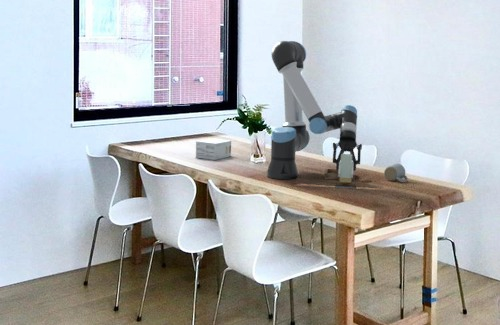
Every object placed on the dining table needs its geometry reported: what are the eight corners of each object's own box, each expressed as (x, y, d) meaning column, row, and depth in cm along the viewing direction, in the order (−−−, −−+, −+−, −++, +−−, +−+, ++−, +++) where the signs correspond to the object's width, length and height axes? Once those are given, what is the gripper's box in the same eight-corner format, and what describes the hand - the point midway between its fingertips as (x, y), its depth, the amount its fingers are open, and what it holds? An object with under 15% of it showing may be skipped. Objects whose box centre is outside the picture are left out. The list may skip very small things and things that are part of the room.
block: (339, 181, 307) (340, 155, 305) (339, 179, 312) (341, 153, 310) (351, 182, 306) (352, 156, 304) (351, 180, 311) (352, 154, 309)
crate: (324, 180, 320) (324, 173, 320) (325, 175, 334) (326, 168, 333) (354, 182, 318) (354, 175, 318) (354, 177, 332) (354, 169, 331)
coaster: (334, 187, 306) (335, 186, 306) (335, 183, 314) (335, 182, 314) (355, 188, 304) (355, 187, 304) (355, 184, 313) (355, 183, 313)
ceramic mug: (382, 180, 326) (383, 164, 324) (391, 177, 332) (392, 162, 330) (402, 183, 319) (403, 167, 318) (410, 181, 325) (412, 165, 324)
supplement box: (215, 160, 372) (215, 143, 370) (195, 157, 379) (195, 141, 377) (231, 156, 386) (231, 140, 385) (212, 154, 393) (212, 138, 391)
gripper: (367, 140, 320) (365, 181, 307) (328, 138, 322) (325, 178, 309) (368, 130, 314) (366, 171, 300) (328, 128, 316) (325, 169, 303)
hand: (345, 175), depth 305 cm, fingers open, 5 cm apart
